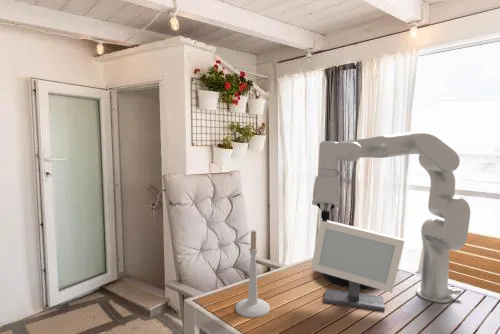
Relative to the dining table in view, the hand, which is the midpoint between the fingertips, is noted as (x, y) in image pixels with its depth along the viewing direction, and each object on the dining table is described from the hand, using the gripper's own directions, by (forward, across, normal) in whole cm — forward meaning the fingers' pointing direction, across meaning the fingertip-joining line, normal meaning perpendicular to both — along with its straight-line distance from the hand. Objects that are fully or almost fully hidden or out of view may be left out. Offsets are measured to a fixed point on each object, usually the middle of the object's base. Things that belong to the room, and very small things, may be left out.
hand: (324, 220), depth 128 cm
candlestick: (+33, +23, +14) cm, 43 cm away
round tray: (+32, -12, -30) cm, 45 cm away
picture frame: (+22, -11, 0) cm, 24 cm away
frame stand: (+32, -13, -4) cm, 34 cm away
